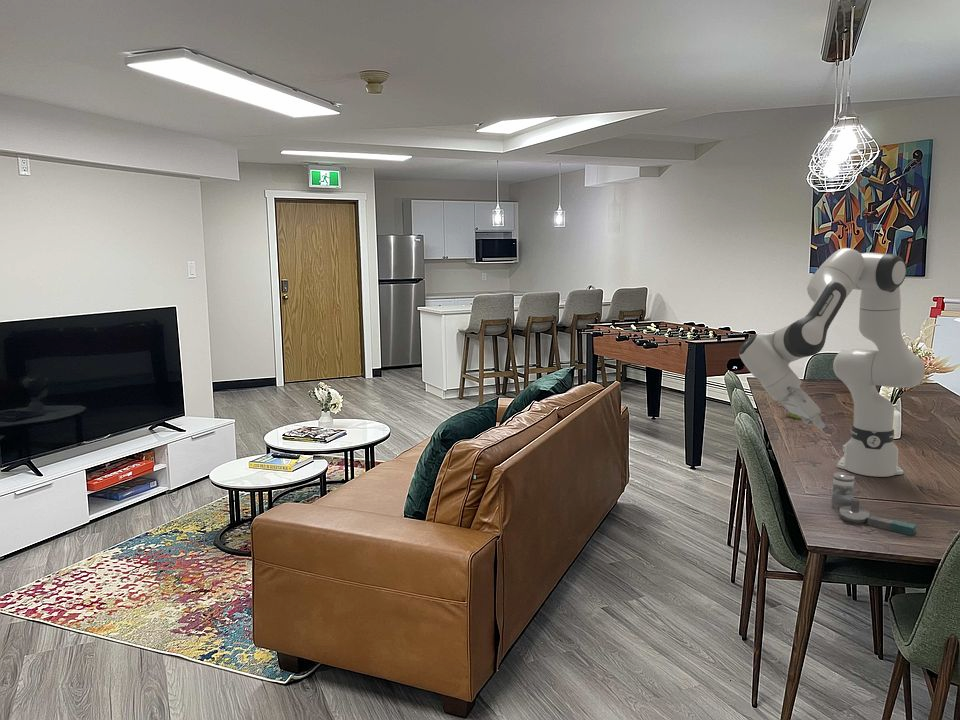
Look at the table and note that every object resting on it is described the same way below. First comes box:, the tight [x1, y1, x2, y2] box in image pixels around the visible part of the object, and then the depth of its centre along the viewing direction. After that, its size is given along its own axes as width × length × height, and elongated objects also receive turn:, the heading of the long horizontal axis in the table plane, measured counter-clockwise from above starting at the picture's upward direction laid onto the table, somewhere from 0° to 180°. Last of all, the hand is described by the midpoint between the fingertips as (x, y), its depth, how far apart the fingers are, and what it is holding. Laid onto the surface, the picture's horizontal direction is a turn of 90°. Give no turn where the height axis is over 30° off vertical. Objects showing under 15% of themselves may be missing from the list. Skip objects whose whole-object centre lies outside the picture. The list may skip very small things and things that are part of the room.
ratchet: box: [838, 498, 917, 537], centre depth 185 cm, size 18×7×6 cm, turn 46°
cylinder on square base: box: [830, 471, 856, 510], centre depth 198 cm, size 5×5×9 cm
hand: (817, 426), depth 196 cm, fingers open, 8 cm apart
